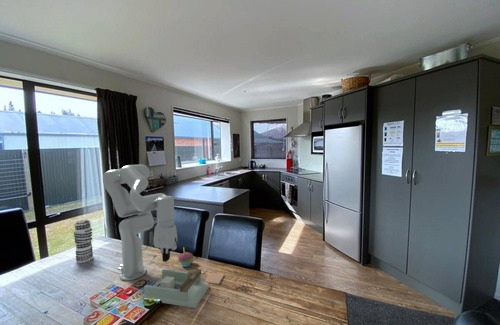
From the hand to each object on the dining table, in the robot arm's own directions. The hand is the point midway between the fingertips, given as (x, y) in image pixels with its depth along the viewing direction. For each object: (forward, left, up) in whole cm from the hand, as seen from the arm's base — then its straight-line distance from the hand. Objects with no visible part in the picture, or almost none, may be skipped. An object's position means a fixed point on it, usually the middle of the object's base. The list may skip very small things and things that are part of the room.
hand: (166, 260), depth 99 cm
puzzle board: (+5, 0, -16) cm, 17 cm away
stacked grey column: (-71, +18, -16) cm, 75 cm away
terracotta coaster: (+18, +14, -16) cm, 28 cm away
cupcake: (-4, +24, -16) cm, 29 cm away
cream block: (0, 0, -15) cm, 15 cm away
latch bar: (+13, 0, -9) cm, 16 cm away
